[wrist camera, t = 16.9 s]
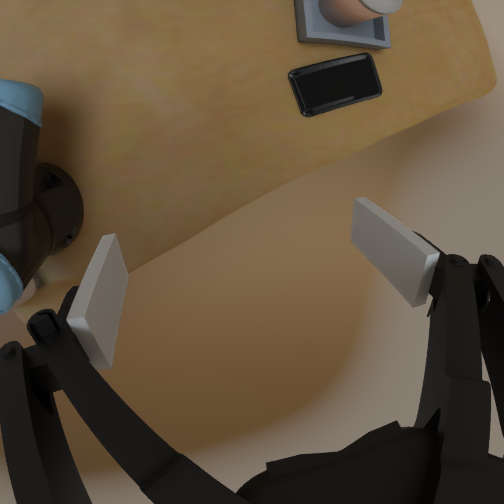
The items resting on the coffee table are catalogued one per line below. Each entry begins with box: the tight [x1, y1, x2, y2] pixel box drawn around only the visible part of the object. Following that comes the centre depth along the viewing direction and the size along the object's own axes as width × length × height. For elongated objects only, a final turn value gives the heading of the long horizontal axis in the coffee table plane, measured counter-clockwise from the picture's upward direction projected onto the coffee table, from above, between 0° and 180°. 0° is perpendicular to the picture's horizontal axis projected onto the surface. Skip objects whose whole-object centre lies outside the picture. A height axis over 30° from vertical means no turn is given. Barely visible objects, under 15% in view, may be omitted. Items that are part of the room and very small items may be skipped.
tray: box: [294, 0, 391, 50], centre depth 33 cm, size 14×13×4 cm
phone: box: [288, 53, 382, 117], centre depth 41 cm, size 8×1×15 cm
